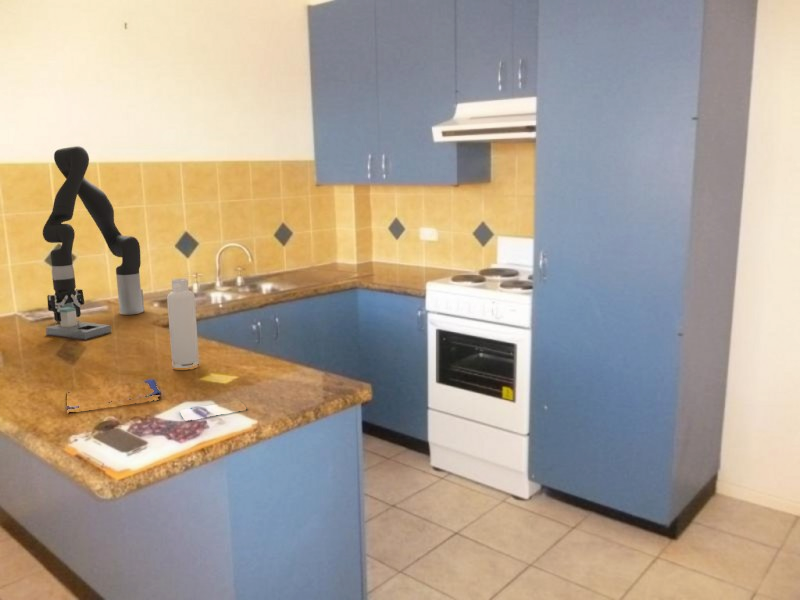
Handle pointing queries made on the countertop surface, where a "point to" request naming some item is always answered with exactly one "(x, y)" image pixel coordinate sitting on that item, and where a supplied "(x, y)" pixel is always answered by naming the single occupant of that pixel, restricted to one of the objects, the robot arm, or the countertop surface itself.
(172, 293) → the bottle
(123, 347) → the countertop surface
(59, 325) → the panel
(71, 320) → the plug
